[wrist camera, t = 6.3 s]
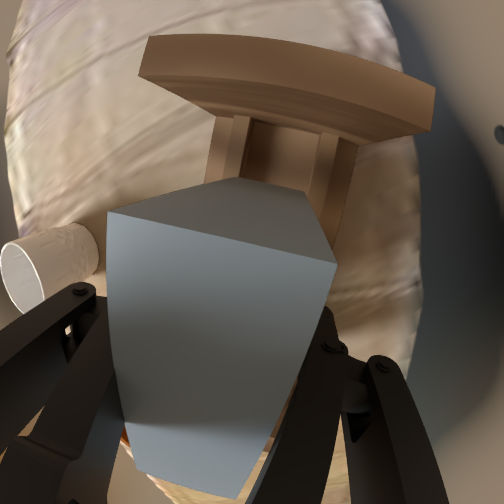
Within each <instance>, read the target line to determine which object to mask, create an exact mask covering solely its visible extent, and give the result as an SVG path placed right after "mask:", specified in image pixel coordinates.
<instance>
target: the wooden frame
mask: <svg viewBox="0 0 504 504" xmlns="http://www.w3.org/2000/svg"><path fill="white" fill-rule="evenodd" d="M138 76H139V77H141V78H144V79H146V80H148V81H150V82H152V83H154V84H156V85H158V86H160V87H162V88H164V89H166V90H168V91H170V92H172V93H174V94H176V95H178V96H180V97H182V98H184V99H186V100H188V101H189V102H191V103H193V104H195V105H197V106H199V107H200V108H202V109H204V110H206V111H208V112H209V113H211V114H213V115H215V116H216V119H215V124H214V129H213V134H212V140H211V145H210V150H209V156H208V161H207V167H206V173H205V179H204V184H206V183H210V182H214V181H218V180H223V179H227V178H231V177H240V178H245V179H250V180H255V181H260V182H265V183H269V184H274V185H278V186H283V187H287V188H291V189H296V190H300V191H304V192H305V194H306V196H307V198H308V200H309V202H310V204H311V207H312V209H313V211H314V213H315V215H316V217H317V219H318V221H319V223H320V226H321V228H322V230H323V232H324V234H325V236H326V239H327V241H328V243H329V245H330V247H331V250H333V246H334V243H335V239H336V235H337V232H338V228H339V224H340V221H341V217H342V213H343V209H344V205H345V201H346V197H347V193H348V189H349V185H350V181H351V176H352V172H353V167H354V163H355V158H356V153H357V149H358V146H360V145H364V144H369V143H373V142H378V141H382V140H387V139H392V138H397V137H402V136H407V135H413V134H418V133H424V132H430V131H431V124H432V118H433V110H434V100H435V90H436V88H435V87H433V86H431V85H429V84H427V83H424V82H422V81H420V80H418V79H415V78H413V77H411V76H408V75H406V74H403V73H401V72H398V71H396V70H393V69H391V68H388V67H385V66H382V65H379V64H377V63H374V62H371V61H368V60H364V59H361V58H358V57H355V56H351V55H348V54H344V53H340V52H337V51H333V50H329V49H324V48H320V47H316V46H311V45H306V44H301V43H295V42H290V41H283V40H277V39H269V38H261V37H252V36H241V35H225V34H172V35H157V36H149V38H148V42H147V45H146V48H145V52H144V55H143V59H142V62H141V66H140V70H139V74H138ZM296 384H297V378H296V380H295V382H294V385H293V387H292V389H291V392H290V394H289V396H288V398H287V401H286V403H285V405H284V407H283V410H282V412H281V414H280V416H279V418H278V420H277V422H276V425H275V427H274V429H273V431H272V433H271V435H270V437H269V439H268V441H267V443H266V445H265V447H264V449H263V451H265V452H269V451H270V449H271V447H272V444H273V442H274V440H275V437H276V435H277V432H278V430H279V427H280V425H281V422H282V420H283V417H284V415H285V412H286V410H287V407H288V405H289V404H288V402H289V400H290V398H291V396H292V393H293V391H294V389H295V387H296Z"/></svg>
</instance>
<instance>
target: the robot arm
mask: <svg viewBox="0 0 504 504" xmlns="http://www.w3.org/2000/svg"><path fill="white" fill-rule="evenodd" d="M69 325H70V330H71V332H70V333H69V334H67V335H66V332H65V329H66V328H67V327H68V326H69ZM288 404H289V405H288V407H287V410H286V412H285V415H284V417H283V420H282V422H281V425H280V427H279V430H278V432H277V435H276V437H275V440H274V442H273V444H272V447H271V449H270V451H269V454H268V456H267V458H266V460H265V463H264V465H263V467H262V469H261V471H260V474H259V476H258V478H257V480H256V482H255V484H254V486H253V488H252V490H251V492H250V495H249V497H248V499H247V501H246V503H245V504H321V501H322V497H323V494H324V490H325V486H326V482H327V478H328V474H329V470H330V465H331V461H332V456H333V452H334V447H335V442H336V436H337V431H338V425H339V420H340V414H341V420H342V427H343V434H344V441H345V449H346V457H347V466H348V475H349V484H350V495H351V504H449V501H448V497H447V494H446V490H445V487H444V484H443V480H442V477H441V474H440V470H439V468H438V465H437V461H436V458H435V455H434V452H433V450H432V447H431V444H430V441H429V438H428V436H427V433H426V430H425V428H424V425H423V422H422V420H421V417H420V415H419V412H418V410H417V407H416V405H415V402H414V400H413V398H412V395H411V393H410V390H409V388H408V386H407V383H406V381H405V379H404V377H403V374H402V372H401V370H400V368H399V366H398V365H397V363H396V362H394V361H393V360H392V359H390V358H388V357H386V356H382V355H374V356H371V357H370V358H369V360H368V361H367V363H366V362H363V361H360V360H358V359H355V358H353V357H351V356H349V355H348V348H347V347H346V345H345V344H344V343H343V342H341V341H340V340H339V339H338V334H337V330H336V326H335V321H334V316H333V313H332V312H331V310H330V309H329V308H328V307H327V306H324V308H323V310H322V313H321V316H320V319H319V322H318V324H317V327H316V330H315V332H314V335H313V338H312V340H311V343H310V346H309V348H308V351H307V353H306V356H305V358H304V361H303V363H302V366H301V368H300V370H299V373H298V375H297V384H296V387H295V389H294V391H293V393H292V396H291V398H290V400H289V402H288ZM44 405H45V406H44ZM43 407H44V408H43ZM42 408H43V410H42V412H41V414H40V416H39V418H38V420H37V422H36V424H35V426H34V428H33V430H32V432H31V433H30V434H29V435H28V436H17V435H18V434H19V433H20V432H21V431H22V430H23V429H24V428H25V426H26V425H27V424H28V423H29V422H30V421H31V420H32V419H33V418H34V416H35V415H36V414H37V413H38V412H39V411H40V410H41V409H42ZM124 424H125V419H124V415H123V410H122V406H121V401H120V396H119V390H118V385H117V379H116V373H115V368H114V364H113V357H112V349H111V340H110V330H109V318H108V304H107V297H102V296H96V288H95V287H94V286H93V285H92V284H90V283H86V282H77V283H73V284H70V285H68V286H67V287H65V288H63V289H62V290H60V291H59V292H57V293H55V294H54V295H52V296H51V297H49V298H48V299H46V300H44V301H43V302H41V303H40V304H38V305H37V306H35V307H34V308H32V309H31V310H29V311H28V312H26V313H25V314H23V315H22V316H20V317H19V318H17V319H16V320H15V321H13V322H12V323H10V324H9V325H7V326H6V327H5V328H3V329H2V330H0V455H1V454H2V453H3V452H4V450H5V449H6V448H7V447H8V448H7V450H6V452H5V454H4V456H3V459H2V461H1V463H0V504H107V492H108V488H109V483H110V479H111V474H112V470H113V466H114V462H115V458H116V454H117V450H118V446H119V443H120V439H121V435H122V432H123V428H124Z"/></svg>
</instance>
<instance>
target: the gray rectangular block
mask: <svg viewBox="0 0 504 504" xmlns="http://www.w3.org/2000/svg"><path fill="white" fill-rule="evenodd" d="M337 265H338V263H337V261H336V259H335V257H334V254H333V252H332V250H331V247H330V245H329V243H328V241H327V239H326V236H325V234H324V232H323V230H322V228H321V226H320V223H319V221H318V219H317V217H316V215H315V213H314V211H313V209H312V207H311V204H310V202H309V200H308V198H307V196H306V194H305V192H304V191H300V190H296V189H291V188H287V187H283V186H278V185H274V184H269V183H265V182H260V181H255V180H250V179H245V178H240V177H231V178H227V179H223V180H218V181H214V182H210V183H206V184H202V185H198V186H194V187H190V188H186V189H182V190H178V191H175V192H171V193H167V194H164V195H160V196H157V197H153V198H150V199H146V200H143V201H139V202H136V203H133V204H129V205H126V206H123V207H120V208H117V209H114V210H111V211H108V214H107V237H106V281H107V304H108V318H109V330H110V340H111V349H112V357H113V364H114V368H115V373H116V379H117V385H118V390H119V396H120V401H121V406H122V410H123V415H124V419H125V428H126V432H127V436H128V440H129V443H130V447H131V451H132V454H133V458H134V461H135V464H136V468H137V470H139V471H142V472H144V473H147V474H149V475H152V476H154V477H157V478H160V479H162V480H165V481H168V482H171V483H174V484H177V485H180V486H184V487H187V488H190V489H194V490H197V491H201V492H205V493H209V494H213V495H217V496H221V497H226V498H231V499H236V498H237V497H238V495H239V493H240V491H241V490H242V488H243V486H244V484H245V483H246V481H247V479H248V477H249V475H250V474H251V472H252V470H253V468H254V466H255V464H256V462H257V461H258V459H259V457H260V455H261V453H262V451H263V449H264V447H265V445H266V443H267V441H268V439H269V437H270V435H271V433H272V431H273V429H274V427H275V425H276V422H277V420H278V418H279V416H280V414H281V412H282V410H283V407H284V405H285V403H286V401H287V398H288V396H289V394H290V392H291V389H292V387H293V385H294V382H295V380H296V378H297V375H298V373H299V370H300V368H301V366H302V363H303V361H304V358H305V356H306V353H307V351H308V348H309V346H310V343H311V340H312V338H313V335H314V332H315V330H316V327H317V324H318V322H319V319H320V316H321V313H322V310H323V308H324V305H325V302H326V299H327V296H328V293H329V290H330V287H331V284H332V281H333V278H334V275H335V272H336V269H337Z"/></svg>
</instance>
